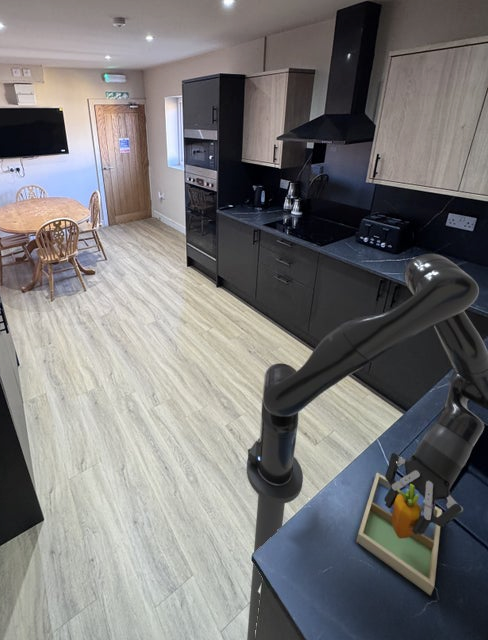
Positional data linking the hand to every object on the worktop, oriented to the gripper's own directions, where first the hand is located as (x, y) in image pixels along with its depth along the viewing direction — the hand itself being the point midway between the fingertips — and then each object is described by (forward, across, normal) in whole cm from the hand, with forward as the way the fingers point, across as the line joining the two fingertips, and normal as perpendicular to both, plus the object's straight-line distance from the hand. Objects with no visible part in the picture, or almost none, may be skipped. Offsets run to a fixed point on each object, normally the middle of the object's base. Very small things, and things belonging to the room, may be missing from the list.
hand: (400, 519), depth 69 cm
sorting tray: (+4, -2, +12) cm, 13 cm away
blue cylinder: (0, -3, +14) cm, 14 cm away
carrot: (+4, 0, +7) cm, 8 cm away
